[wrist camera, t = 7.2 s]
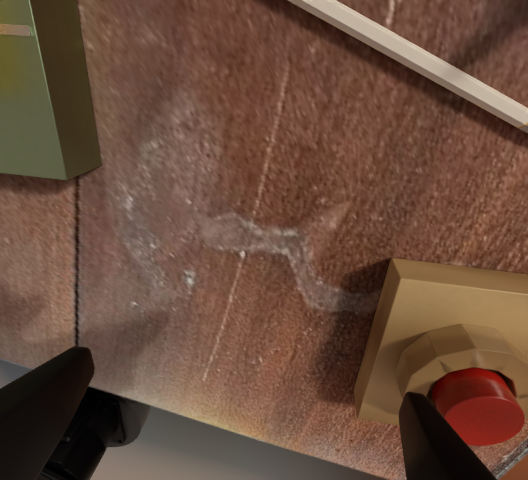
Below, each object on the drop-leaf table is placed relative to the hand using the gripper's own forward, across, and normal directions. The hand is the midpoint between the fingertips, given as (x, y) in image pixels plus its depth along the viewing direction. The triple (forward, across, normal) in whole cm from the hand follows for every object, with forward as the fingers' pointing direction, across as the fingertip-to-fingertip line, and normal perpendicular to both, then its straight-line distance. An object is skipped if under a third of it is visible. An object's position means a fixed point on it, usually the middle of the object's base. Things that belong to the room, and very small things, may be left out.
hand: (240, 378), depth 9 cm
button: (+7, -11, +7) cm, 15 cm away
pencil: (+11, -3, -10) cm, 15 cm away
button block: (+10, -11, +7) cm, 17 cm away
